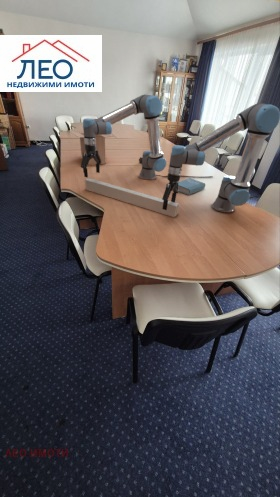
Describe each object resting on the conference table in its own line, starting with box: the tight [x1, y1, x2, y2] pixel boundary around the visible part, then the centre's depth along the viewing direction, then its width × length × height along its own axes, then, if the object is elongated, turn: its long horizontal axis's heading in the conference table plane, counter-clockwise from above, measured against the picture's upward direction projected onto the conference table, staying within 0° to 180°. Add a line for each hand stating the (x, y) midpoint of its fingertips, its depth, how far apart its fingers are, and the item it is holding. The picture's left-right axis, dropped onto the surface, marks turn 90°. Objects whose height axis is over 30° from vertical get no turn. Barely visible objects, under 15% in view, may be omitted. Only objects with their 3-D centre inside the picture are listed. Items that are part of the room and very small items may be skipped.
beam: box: [84, 177, 180, 218], centre depth 159 cm, size 76×5×8 cm, turn 60°
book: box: [177, 177, 206, 196], centre depth 186 cm, size 23×16×5 cm
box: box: [70, 130, 114, 166], centre depth 229 cm, size 44×36×27 cm
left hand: (92, 174), depth 166 cm, fingers open, 13 cm apart
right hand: (168, 205), depth 146 cm, fingers open, 13 cm apart
